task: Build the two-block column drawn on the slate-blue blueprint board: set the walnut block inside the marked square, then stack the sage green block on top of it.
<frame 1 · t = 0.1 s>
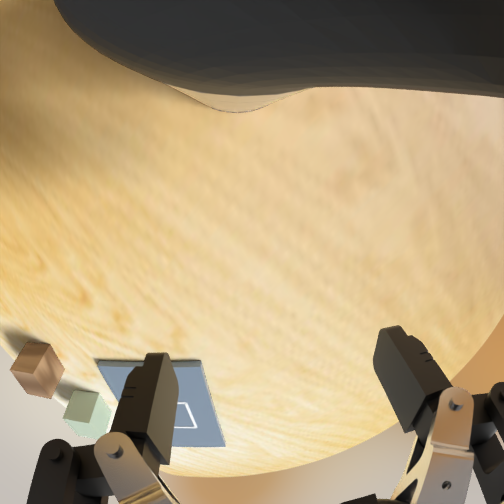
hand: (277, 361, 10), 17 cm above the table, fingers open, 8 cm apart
walnut block: (45, 355, 33), on the table
sage block: (92, 400, 37), on the table
blueprint board: (169, 410, 38), on the table
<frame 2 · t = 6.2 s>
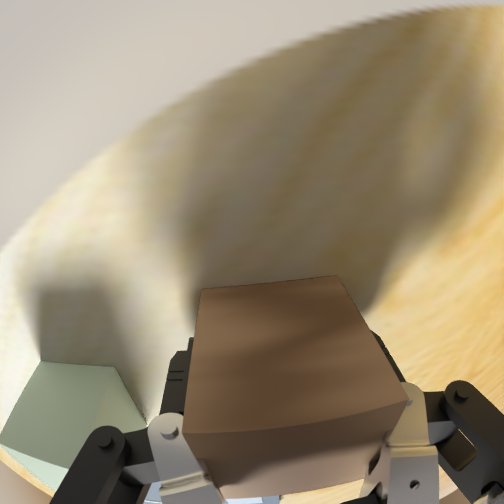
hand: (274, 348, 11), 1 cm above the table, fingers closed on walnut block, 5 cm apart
walnut block: (273, 335, 12), on the table, touching gripper
sage block: (93, 395, 13), on the table
blueprint board: (150, 482, 18), on the table
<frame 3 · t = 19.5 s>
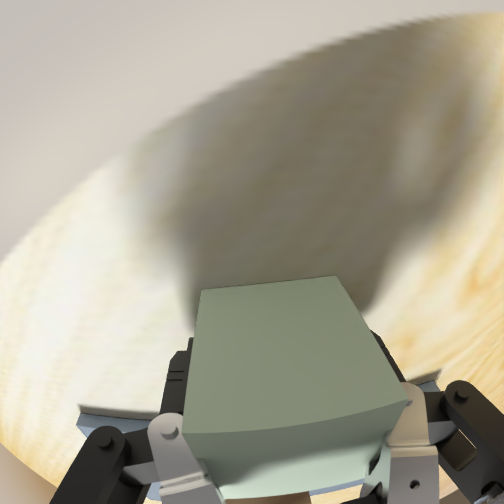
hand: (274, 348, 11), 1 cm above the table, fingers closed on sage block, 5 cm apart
walnut block: (265, 477, 16), point 1 cm above the table, touching blueprint board
sage block: (273, 335, 12), on the table, touching gripper
blueprint board: (263, 466, 17), on the table
when the fingers open (9 cm above the table, at t = 26.4 s): sage block stays where it is, resting on walnut block.
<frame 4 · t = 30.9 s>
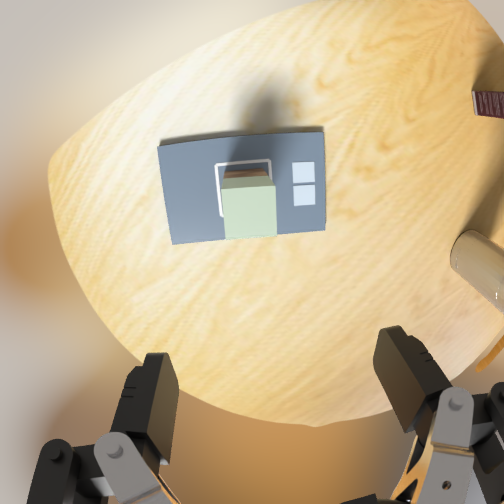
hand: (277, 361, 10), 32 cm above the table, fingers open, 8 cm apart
supplement box: (485, 104, 35), on the table
walnut block: (245, 188, 39), point 1 cm above the table, touching blueprint board, sage block
sage block: (247, 198, 33), point 7 cm above the table, touching walnut block
blueprint board: (244, 186, 40), on the table
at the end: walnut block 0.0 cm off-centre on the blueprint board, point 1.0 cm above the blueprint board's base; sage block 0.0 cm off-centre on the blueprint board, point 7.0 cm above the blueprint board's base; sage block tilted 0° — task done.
